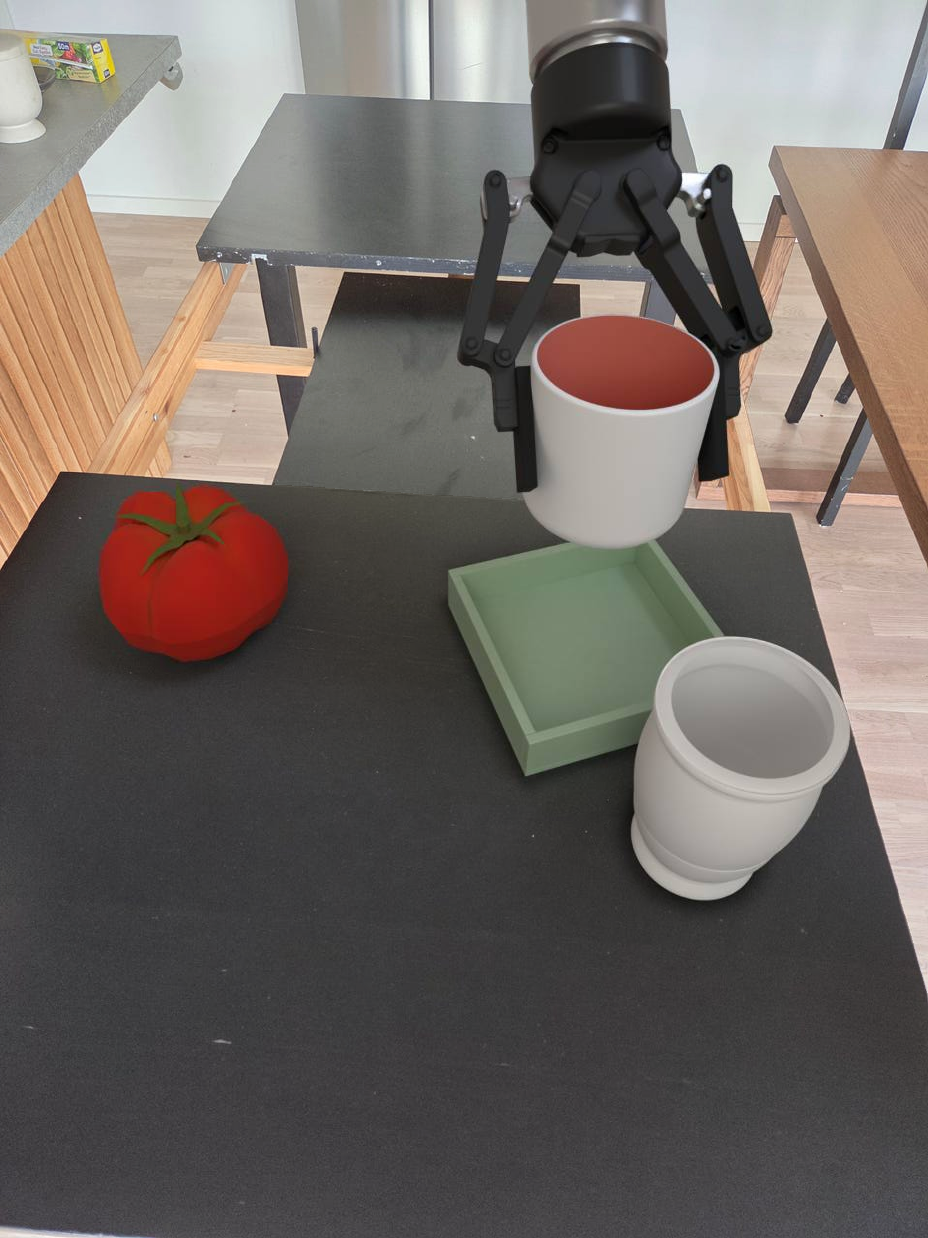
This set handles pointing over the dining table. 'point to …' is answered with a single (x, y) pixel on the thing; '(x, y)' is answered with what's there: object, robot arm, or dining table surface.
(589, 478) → the cup
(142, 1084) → the dining table surface
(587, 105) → the robot arm
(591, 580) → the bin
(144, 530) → the tomato
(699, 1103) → the dining table surface
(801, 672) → the jar
